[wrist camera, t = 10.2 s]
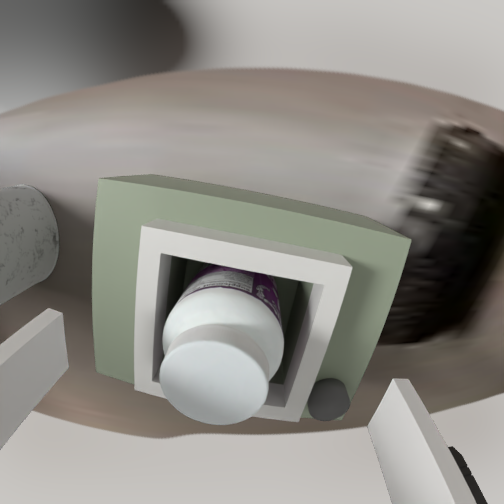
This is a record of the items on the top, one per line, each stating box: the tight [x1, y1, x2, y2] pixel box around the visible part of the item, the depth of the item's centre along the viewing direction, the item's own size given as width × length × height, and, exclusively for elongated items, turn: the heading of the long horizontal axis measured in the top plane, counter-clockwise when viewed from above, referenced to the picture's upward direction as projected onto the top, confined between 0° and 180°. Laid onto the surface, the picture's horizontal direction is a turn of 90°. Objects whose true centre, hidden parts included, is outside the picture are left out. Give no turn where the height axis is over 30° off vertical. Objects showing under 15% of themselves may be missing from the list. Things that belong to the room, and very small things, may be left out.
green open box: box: [92, 174, 411, 422], centre depth 19 cm, size 16×12×10 cm
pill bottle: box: [159, 262, 284, 425], centre depth 15 cm, size 5×5×10 cm
